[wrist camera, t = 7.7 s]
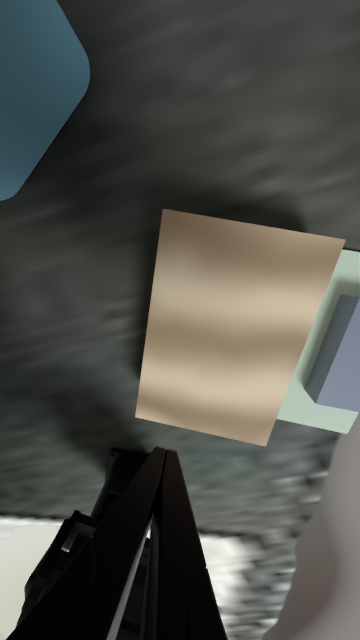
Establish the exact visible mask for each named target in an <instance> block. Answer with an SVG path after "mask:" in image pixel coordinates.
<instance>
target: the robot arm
mask: <svg viewBox="0 0 360 640" xmlns="http://www.w3.org/2000/svg"><path fill="white" fill-rule="evenodd" d="M152 515H153V517H152ZM151 519H152V524H151V533H150V539H149V538H146V536H147V533H148V530H149V526H150V523H151ZM68 550H69V552H67V551H68ZM6 640H228V639H227V636H226V633H225V629H224V626H223V623H222V620H221V617H220V613H219V610H218V606H217V603H216V599H215V595H214V592H213V588H212V584H211V580H210V577H209V573H208V569H207V568H206V562H205V558H204V554H203V550H202V546H201V542H200V538H199V534H198V531H197V527H196V523H195V519H194V515H193V511H192V507H191V503H190V499H189V496H188V492H187V488H186V484H185V480H184V476H183V472H182V468H181V465H180V461H179V457H178V453H177V451H176V450H172V449H167V450H166V448H164V447H160V446H156V447H155V448H154V450H153V451H152V452H151V454H150V455H149V456H145V455H141V454H136V453H132V452H128V451H124V450H119V449H115V448H112V449H110V451H109V454H108V465H107V476H106V481H105V483H104V486H103V488H102V490H101V493H100V495H99V497H98V499H97V502H96V504H95V506H94V509H93V511H92V513H91V515H90V516H87V515H84V514H81V512H80V511H77V510H75V511H74V513H73V515H72V516H71V518H69V519H65V520H64V522H63V524H62V526H61V528H60V530H59V531H58V533H57V535H56V537H55V539H54V541H53V542H52V544H51V546H50V548H49V549H48V550H47V552H46V553H45V555H44V556H43V558H42V559H41V561H40V562H39V564H38V565H37V567H36V568H35V570H34V571H33V573H32V574H31V576H30V577H29V579H28V581H27V583H26V585H25V602H24V604H23V607H22V612H21V615H20V617H19V620H18V622H17V626H16V628H15V630H14V631H13V632H12V633H11V634H10V635H9V637H8V638H7V639H6Z"/></svg>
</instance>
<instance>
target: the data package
mask: <svg viewBox="0 0 360 640" xmlns="http://www.w3.org/2000/svg"><path fill="white" fill-rule="evenodd" d="M89 81H90V65H89V60H88V57H87V54H86V52H85V50H84V48H83V46H82V45H81V43H80V41H79V39H78V37H77V36H76V34H75V32H74V30H73V29H72V27H71V25H70V23H69V21H68V20H67V18H66V16H65V14H64V13H63V11H62V9H61V7H60V5H59V4H58V2H57V0H0V201H2V200H6V199H9V198H11V197H13V196H14V195H15V194H16V193H17V192H18V191H19V190H20V188H21V187H22V185H23V184H24V183H25V181H26V180H27V178H28V177H29V175H30V174H31V172H32V171H33V169H34V168H35V166H36V165H37V164H38V162H39V161H40V159H41V158H42V156H43V155H44V153H45V152H46V150H47V149H48V147H49V146H50V145H51V143H52V142H53V140H54V139H55V137H56V136H57V134H58V133H59V131H60V130H61V129H62V127H63V126H64V124H65V123H66V121H67V120H68V118H69V117H70V115H71V114H72V112H73V111H74V110H75V108H76V107H77V105H78V104H79V102H80V101H81V99H82V98H83V96H84V95H85V93H86V91H87V88H88V85H89Z"/></svg>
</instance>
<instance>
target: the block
mask: <svg viewBox="0 0 360 640" xmlns="http://www.w3.org/2000/svg"><path fill="white" fill-rule="evenodd" d="M304 390H305V391H306V392H307V394H308V395H309V396H310V397H311V399H312V400H313V401H314V403H315V404H319V405H324V406H329V407H334V408H340V409H345V410H350V411H355V412H360V297H356V296H350V295H343V294H341V296H340V298H339V301H338V303H337V306H336V308H335V311H334V314H333V316H332V319H331V321H330V324H329V327H328V329H327V332H326V334H325V337H324V339H323V342H322V345H321V347H320V350H319V352H318V355H317V358H316V360H315V363H314V365H313V368H312V371H311V373H310V376H309V378H308V381H307V383H306V386H305V389H304Z"/></svg>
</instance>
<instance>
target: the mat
mask: <svg viewBox="0 0 360 640" xmlns="http://www.w3.org/2000/svg"><path fill="white" fill-rule="evenodd" d="M341 294H343V295H350V296H356V297H360V252H355V251H349V250H343V249H342V251H341V254H340V256H339V259H338V261H337V264H336V266H335V269H334V272H333V274H332V277H331V279H330V282H329V284H328V287H327V290H326V292H325V295H324V297H323V300H322V302H321V305H320V308H319V310H318V313H317V315H316V318H315V320H314V323H313V326H312V328H311V331H310V333H309V336H308V338H307V341H306V344H305V346H304V349H303V351H302V354H301V356H300V359H299V362H298V364H297V367H296V369H295V372H294V374H293V377H292V380H291V382H290V385H289V387H288V390H287V393H286V395H285V398H284V400H283V403H282V405H281V408H280V411H279V413H278V416H277V418H276V419H280V420H285V421H290V422H294V423H299V424H303V425H308V426H313V427H317V428H322V429H326V430H331V431H336V432H340V433H345V434H347V433H348V432H349V430H350V428H351V426H352V424H353V422H354V420H355V419H356V417H357V415H358V413H359V412H355V411H350V410H345V409H340V408H334V407H329V406H324V405H319V404H315V403H314V401H313V400H312V399H311V397H310V396H309V395H308V394H307V392H306V391H305V390H304V389H305V386H306V383H307V381H308V378H309V376H310V373H311V371H312V368H313V365H314V363H315V360H316V358H317V355H318V352H319V350H320V347H321V345H322V342H323V339H324V337H325V334H326V332H327V329H328V327H329V324H330V321H331V319H332V316H333V314H334V311H335V308H336V306H337V303H338V301H339V298H340V296H341Z"/></svg>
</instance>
